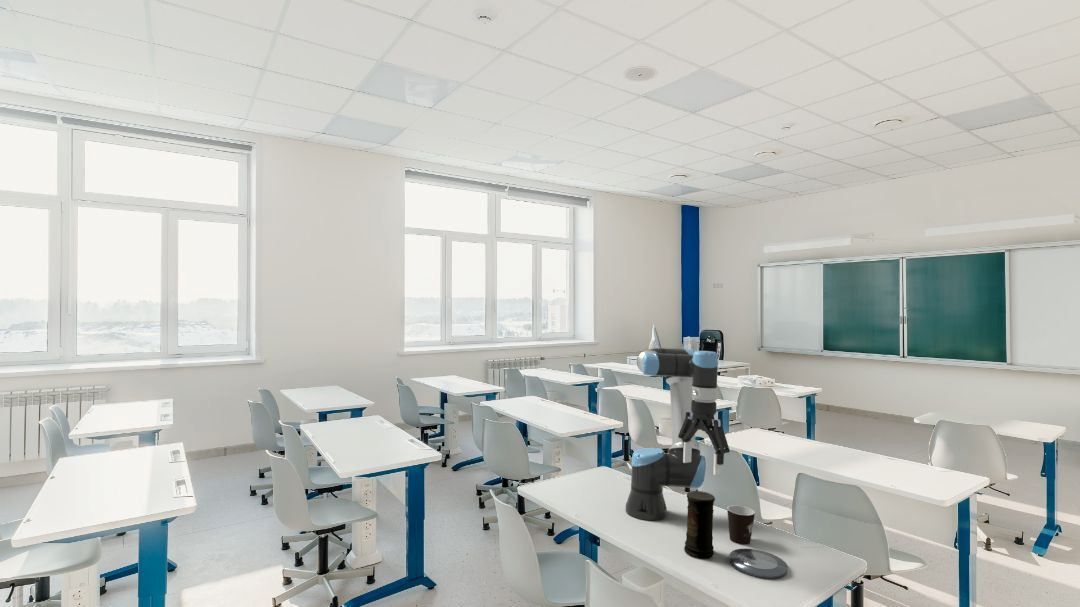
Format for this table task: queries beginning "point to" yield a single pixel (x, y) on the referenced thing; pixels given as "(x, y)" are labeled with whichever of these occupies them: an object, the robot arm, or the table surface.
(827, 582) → the table surface
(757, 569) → the dark gray plate
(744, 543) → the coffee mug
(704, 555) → the container
